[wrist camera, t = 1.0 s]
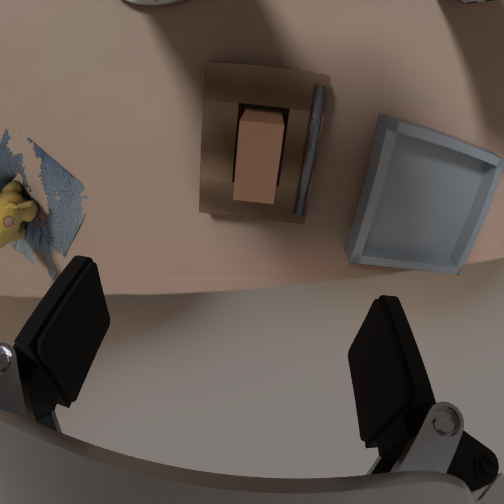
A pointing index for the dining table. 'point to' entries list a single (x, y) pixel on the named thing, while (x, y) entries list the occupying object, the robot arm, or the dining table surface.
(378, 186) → the tray
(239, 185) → the tan rectangular block
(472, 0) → the candy bar box
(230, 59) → the dining table surface
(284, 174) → the brown piece
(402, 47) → the dining table surface
